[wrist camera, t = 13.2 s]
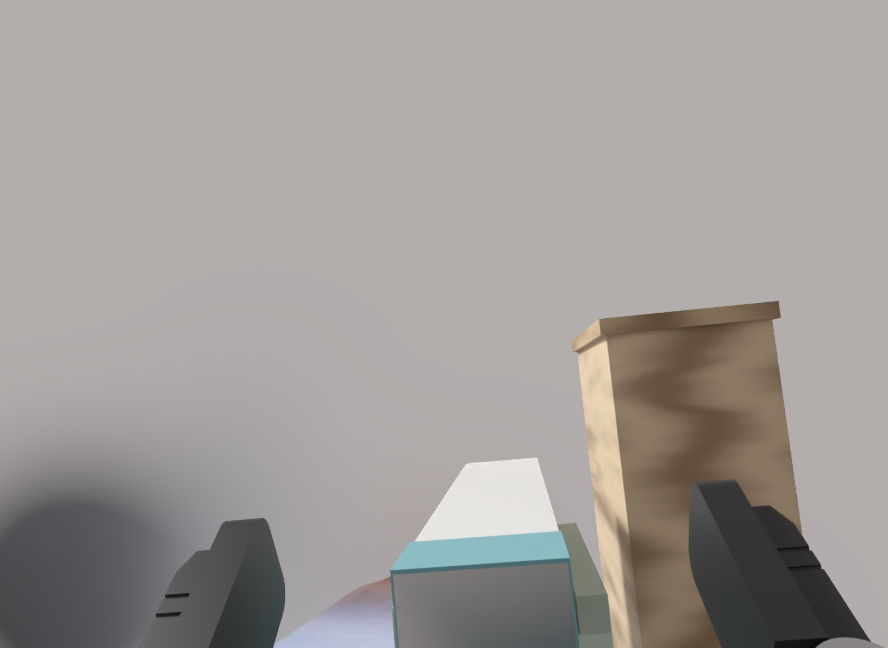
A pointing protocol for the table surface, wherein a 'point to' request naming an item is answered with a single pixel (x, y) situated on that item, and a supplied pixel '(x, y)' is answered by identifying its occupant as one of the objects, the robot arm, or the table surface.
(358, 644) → the table surface
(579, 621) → the sage green upright box
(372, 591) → the table surface
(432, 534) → the white teal square bar
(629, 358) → the oak stand
